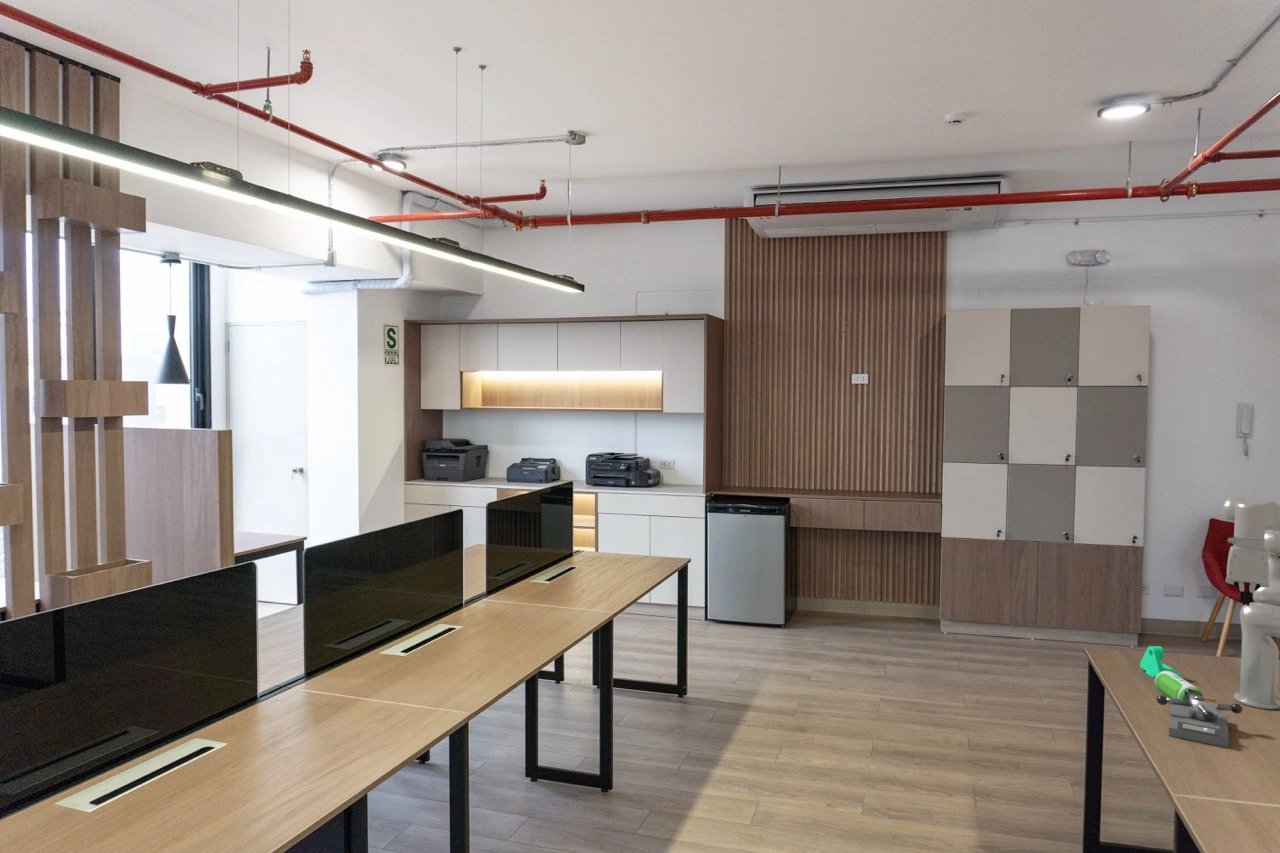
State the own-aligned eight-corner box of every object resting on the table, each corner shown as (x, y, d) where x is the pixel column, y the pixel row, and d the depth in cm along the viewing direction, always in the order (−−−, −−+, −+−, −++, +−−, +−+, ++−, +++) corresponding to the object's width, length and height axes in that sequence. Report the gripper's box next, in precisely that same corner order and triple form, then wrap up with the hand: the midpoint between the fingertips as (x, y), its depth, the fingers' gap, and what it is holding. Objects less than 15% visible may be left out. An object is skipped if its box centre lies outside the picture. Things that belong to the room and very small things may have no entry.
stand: (1170, 711, 265) (1171, 696, 264) (1225, 721, 257) (1226, 706, 257) (1168, 736, 246) (1169, 720, 245) (1228, 748, 238) (1229, 731, 238)
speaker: (1205, 712, 265) (1206, 688, 264) (1180, 711, 265) (1181, 687, 265) (1175, 692, 282) (1176, 669, 282) (1152, 691, 283) (1153, 668, 282)
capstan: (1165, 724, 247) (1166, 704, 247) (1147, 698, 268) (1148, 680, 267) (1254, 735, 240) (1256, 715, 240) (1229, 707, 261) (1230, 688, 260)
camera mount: (1182, 682, 292) (1184, 652, 291) (1159, 681, 292) (1161, 651, 291) (1161, 670, 304) (1163, 641, 303) (1139, 670, 304) (1141, 641, 303)
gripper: (1218, 542, 257) (1215, 603, 258) (1281, 548, 249) (1277, 611, 250) (1218, 539, 263) (1215, 598, 265) (1279, 544, 255) (1276, 605, 256)
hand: (1245, 604), depth 257 cm, fingers closed
